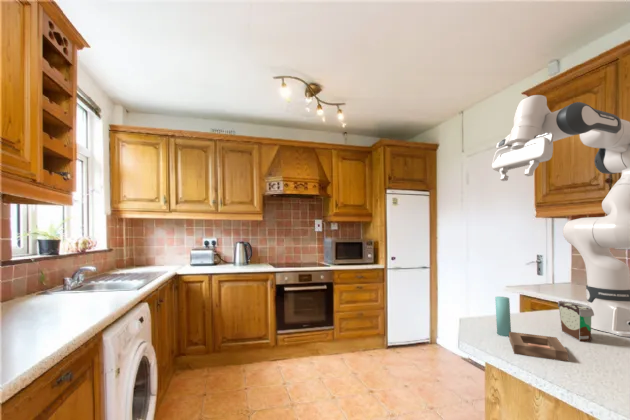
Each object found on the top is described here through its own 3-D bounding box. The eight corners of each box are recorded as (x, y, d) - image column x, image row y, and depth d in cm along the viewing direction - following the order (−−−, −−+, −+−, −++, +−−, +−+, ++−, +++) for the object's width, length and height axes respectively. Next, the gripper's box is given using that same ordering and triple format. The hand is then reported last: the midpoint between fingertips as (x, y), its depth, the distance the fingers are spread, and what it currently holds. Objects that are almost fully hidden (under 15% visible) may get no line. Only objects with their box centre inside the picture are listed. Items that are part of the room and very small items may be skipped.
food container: (606, 344, 92) (604, 310, 92) (582, 343, 93) (580, 309, 93) (579, 331, 104) (577, 301, 104) (559, 330, 105) (557, 300, 105)
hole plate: (556, 345, 91) (556, 336, 91) (568, 361, 80) (567, 351, 80) (509, 339, 96) (508, 331, 96) (514, 353, 85) (513, 343, 86)
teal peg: (510, 333, 102) (508, 297, 103) (511, 337, 98) (509, 299, 99) (496, 331, 104) (494, 296, 104) (497, 335, 100) (495, 298, 101)
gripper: (562, 134, 94) (553, 175, 92) (506, 151, 113) (498, 185, 112) (546, 126, 92) (537, 168, 90) (493, 145, 112) (484, 179, 110)
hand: (515, 178), depth 101 cm, fingers open, 8 cm apart
